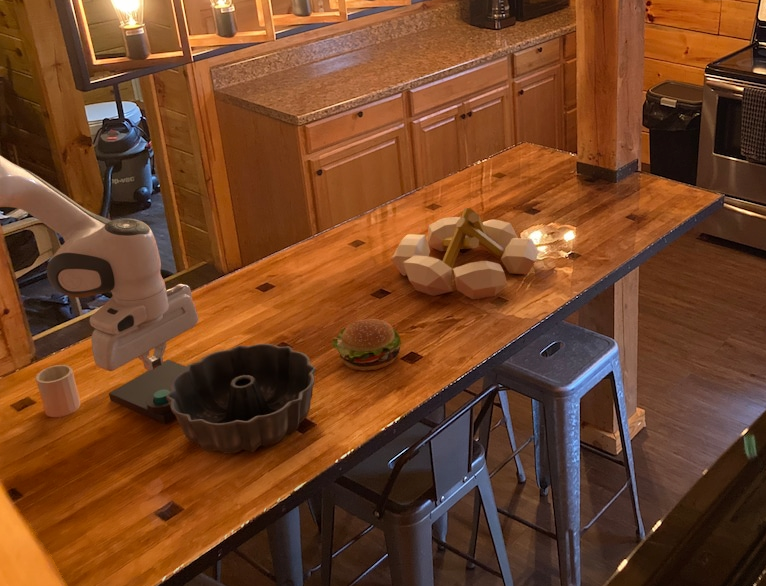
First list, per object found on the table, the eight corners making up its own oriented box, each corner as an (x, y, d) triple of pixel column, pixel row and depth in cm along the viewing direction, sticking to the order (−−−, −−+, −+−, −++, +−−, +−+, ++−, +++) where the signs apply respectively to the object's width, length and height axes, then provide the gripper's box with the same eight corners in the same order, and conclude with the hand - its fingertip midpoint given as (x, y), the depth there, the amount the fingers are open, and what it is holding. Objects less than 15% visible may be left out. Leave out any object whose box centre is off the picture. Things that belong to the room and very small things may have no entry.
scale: (108, 401, 188) (105, 387, 187) (169, 366, 200) (166, 352, 198) (163, 425, 181) (160, 410, 180) (223, 388, 193) (220, 373, 192)
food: (332, 346, 208) (328, 314, 204) (397, 336, 212) (394, 305, 208) (336, 380, 196) (332, 347, 193) (405, 369, 200) (402, 337, 196)
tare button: (151, 401, 183) (150, 395, 183) (164, 394, 185) (162, 387, 185) (161, 406, 182) (160, 399, 181) (173, 398, 184) (172, 391, 184)
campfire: (478, 316, 220) (475, 250, 213) (368, 280, 236) (361, 218, 229) (559, 257, 248) (558, 197, 241) (455, 229, 263) (452, 172, 256)
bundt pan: (347, 425, 182) (341, 381, 178) (212, 489, 165) (203, 443, 161) (281, 370, 199) (275, 328, 195) (153, 422, 182) (143, 379, 178)
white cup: (38, 411, 185) (28, 377, 182) (67, 395, 190) (58, 361, 187) (58, 421, 182) (48, 386, 179) (87, 404, 187) (79, 370, 184)
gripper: (177, 276, 185) (188, 337, 190) (80, 322, 168) (95, 388, 174) (199, 284, 182) (210, 345, 188) (103, 331, 165) (118, 398, 171)
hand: (154, 366), depth 181 cm, fingers closed
